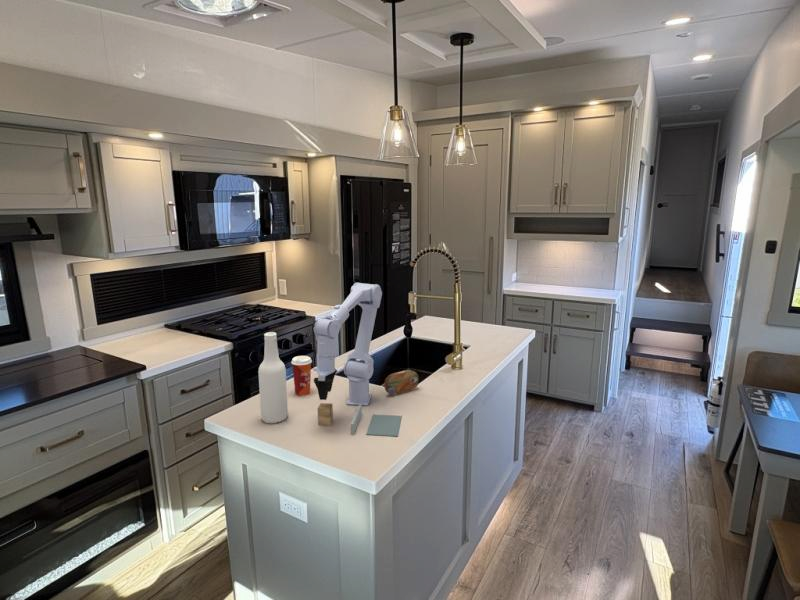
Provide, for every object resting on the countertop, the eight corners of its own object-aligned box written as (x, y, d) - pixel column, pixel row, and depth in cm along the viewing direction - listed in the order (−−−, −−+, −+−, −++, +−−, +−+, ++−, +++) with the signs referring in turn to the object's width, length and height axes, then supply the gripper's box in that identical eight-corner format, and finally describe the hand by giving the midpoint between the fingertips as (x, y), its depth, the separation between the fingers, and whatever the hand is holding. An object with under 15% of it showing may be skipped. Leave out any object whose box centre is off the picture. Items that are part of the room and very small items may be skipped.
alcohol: (257, 416, 155) (252, 332, 149) (282, 410, 160) (278, 328, 154) (266, 426, 148) (261, 338, 142) (292, 419, 153) (288, 334, 147)
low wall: (358, 414, 157) (358, 405, 156) (361, 414, 157) (361, 405, 156) (350, 434, 144) (350, 423, 143) (353, 434, 143) (353, 424, 143)
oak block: (321, 419, 153) (320, 402, 152) (332, 419, 153) (332, 403, 152) (318, 424, 150) (317, 408, 148) (329, 425, 149) (329, 408, 148)
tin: (387, 398, 171) (387, 377, 169) (382, 395, 174) (383, 374, 172) (419, 389, 179) (419, 369, 178) (414, 386, 182) (414, 367, 180)
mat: (372, 415, 157) (372, 414, 157) (401, 416, 156) (401, 415, 156) (366, 434, 143) (366, 434, 143) (397, 436, 142) (397, 435, 142)
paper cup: (306, 398, 170) (305, 362, 167) (288, 395, 173) (287, 360, 170) (316, 390, 177) (315, 356, 175) (299, 387, 180) (298, 354, 177)
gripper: (318, 349, 154) (317, 387, 156) (308, 360, 140) (308, 402, 142) (339, 350, 154) (338, 388, 156) (331, 361, 140) (330, 403, 142)
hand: (325, 395), depth 149 cm, fingers open, 7 cm apart
